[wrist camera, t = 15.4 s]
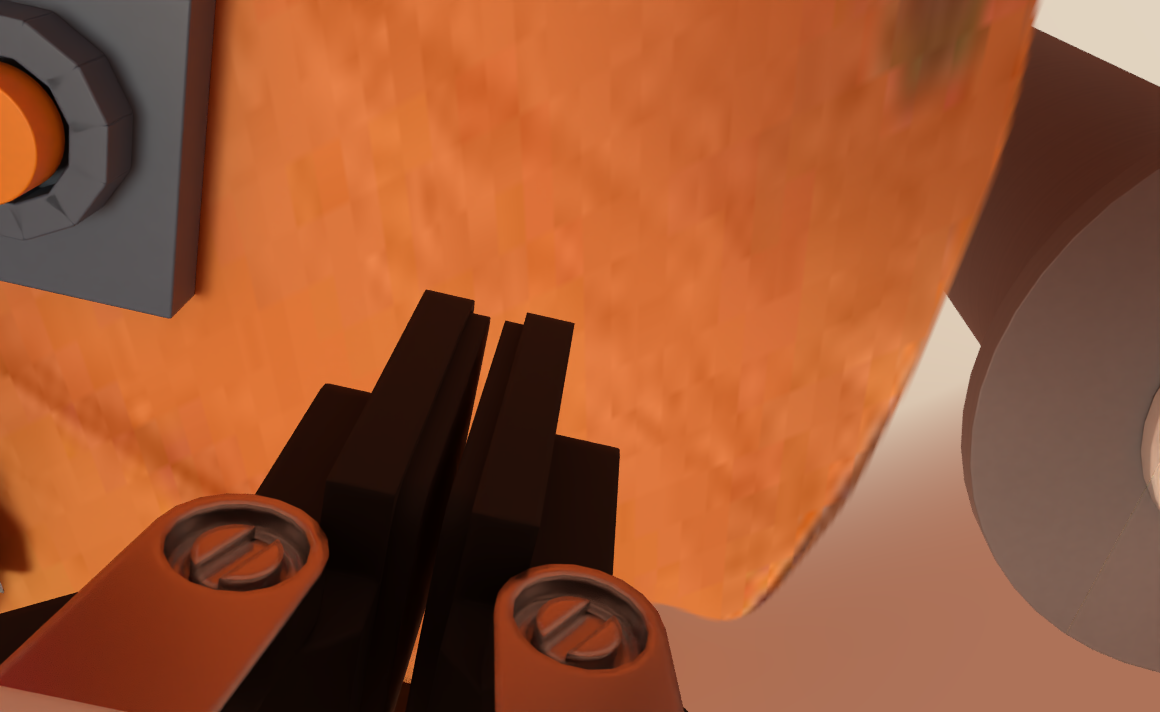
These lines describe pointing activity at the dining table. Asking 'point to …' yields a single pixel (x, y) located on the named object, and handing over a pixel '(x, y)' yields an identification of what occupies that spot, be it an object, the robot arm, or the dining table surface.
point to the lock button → (26, 134)
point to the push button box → (113, 149)
